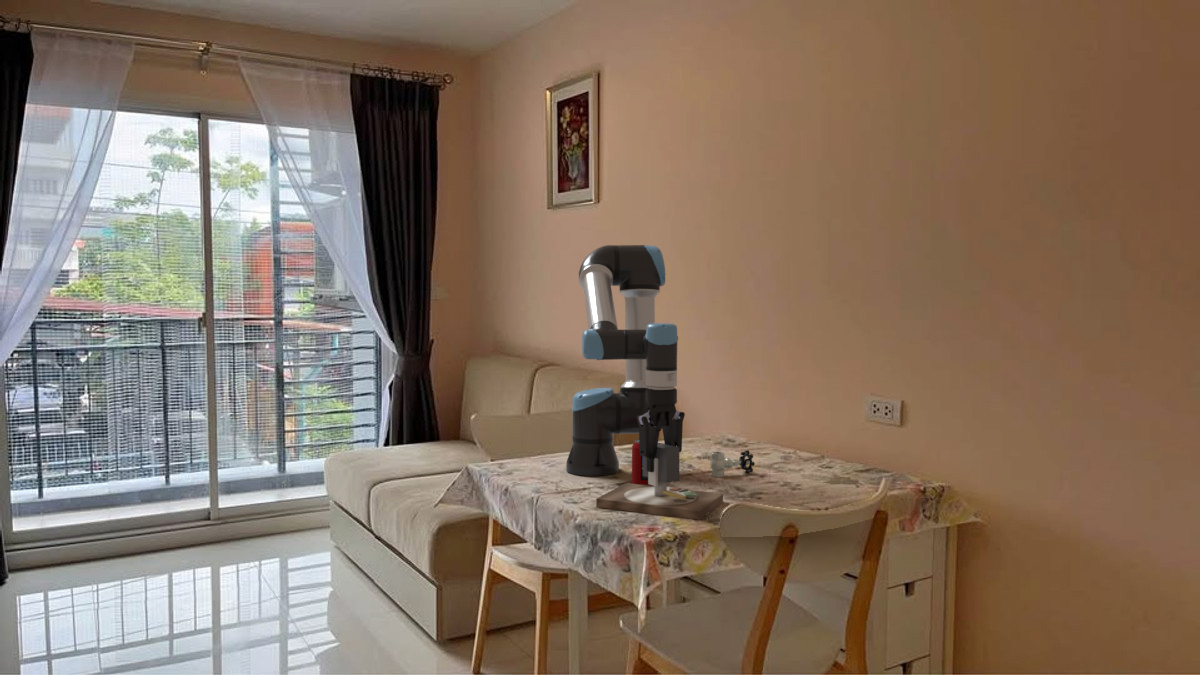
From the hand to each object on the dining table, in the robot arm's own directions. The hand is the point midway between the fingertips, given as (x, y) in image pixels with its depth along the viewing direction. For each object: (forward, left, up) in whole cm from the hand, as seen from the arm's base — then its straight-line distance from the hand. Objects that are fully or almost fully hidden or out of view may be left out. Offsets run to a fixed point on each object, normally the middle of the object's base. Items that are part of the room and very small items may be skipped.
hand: (660, 483), depth 207 cm
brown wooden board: (0, 0, -5) cm, 5 cm away
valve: (+6, +39, -6) cm, 40 cm away
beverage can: (-11, +17, -5) cm, 21 cm away
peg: (+2, -1, -3) cm, 3 cm away
